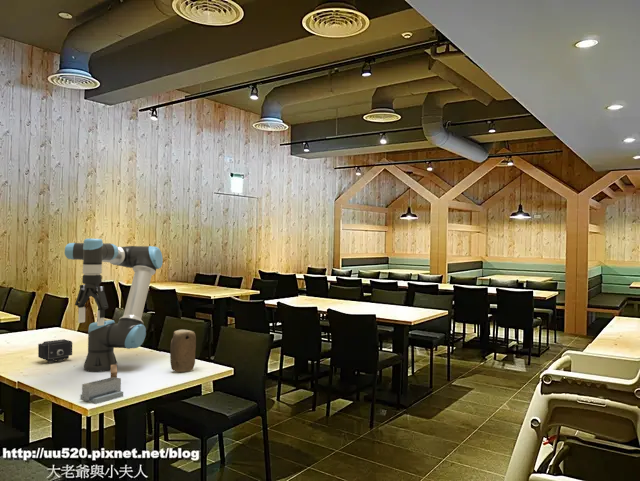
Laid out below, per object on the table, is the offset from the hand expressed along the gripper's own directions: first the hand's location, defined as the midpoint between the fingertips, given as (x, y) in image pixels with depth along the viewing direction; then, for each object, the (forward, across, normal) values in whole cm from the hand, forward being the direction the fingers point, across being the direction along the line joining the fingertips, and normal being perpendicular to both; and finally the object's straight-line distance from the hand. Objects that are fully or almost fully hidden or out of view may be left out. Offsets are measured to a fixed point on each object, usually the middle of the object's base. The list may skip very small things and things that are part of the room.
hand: (91, 324), depth 216 cm
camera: (+27, +56, -17) cm, 64 cm away
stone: (+27, -11, -42) cm, 51 cm away
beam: (+27, -8, -6) cm, 29 cm away
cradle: (+27, -18, +6) cm, 33 cm away
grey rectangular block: (+23, -18, +7) cm, 30 cm away
